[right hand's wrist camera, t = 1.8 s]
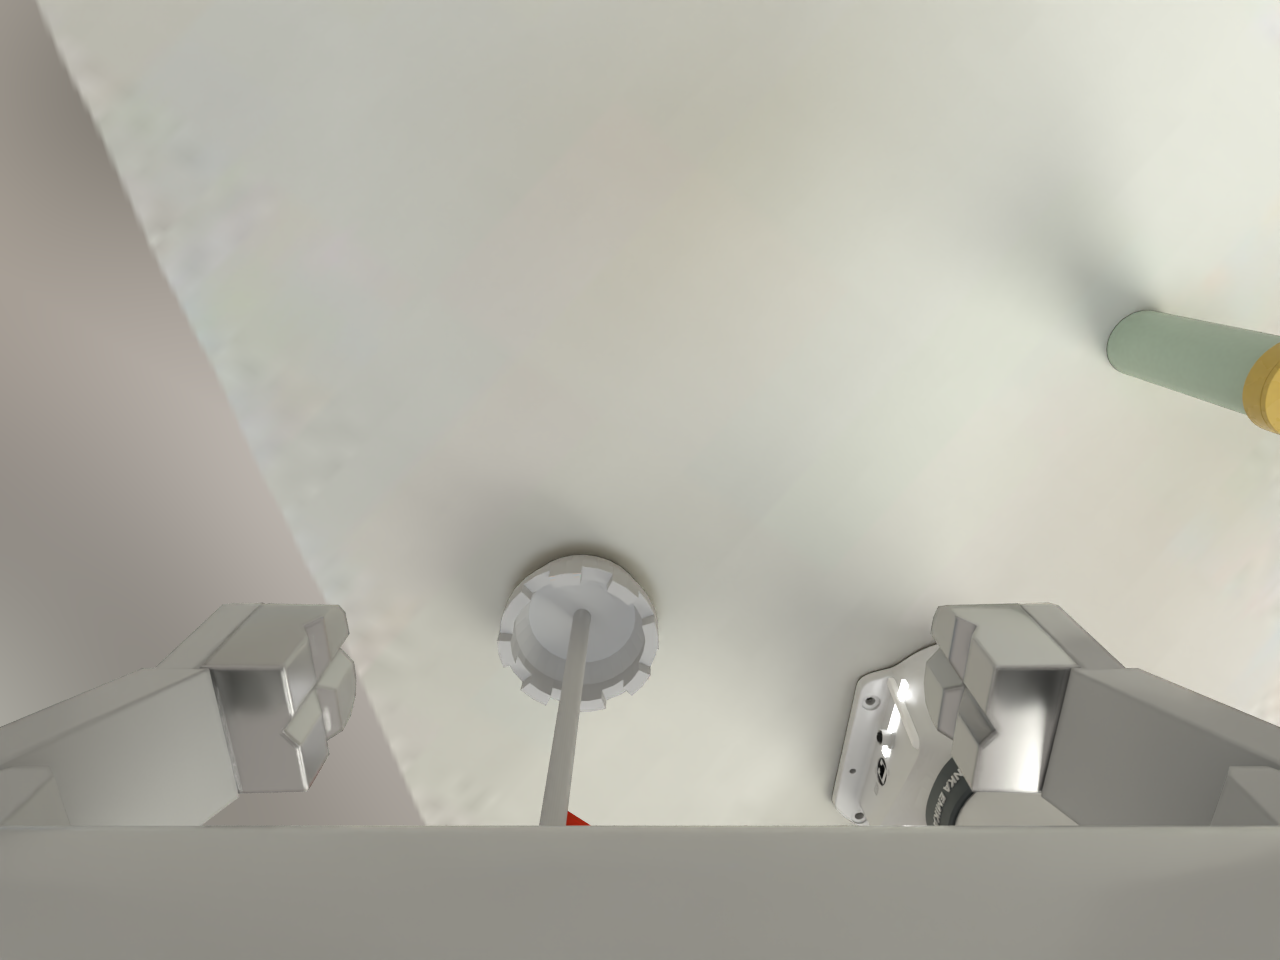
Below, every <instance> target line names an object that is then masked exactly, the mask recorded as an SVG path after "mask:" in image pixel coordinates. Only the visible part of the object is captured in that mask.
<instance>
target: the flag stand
mask: <svg viewBox="0 0 1280 960" xmlns="http://www.w3.org/2000/svg"><path fill="white" fill-rule="evenodd" d="M497 644H498V652H499V656H500V659H501V662H502V665H503V667H507V666H510V667H511V669H512V670H513V672H514V673H515V674H516V675H517V676H518V677H519V678H520V679H521V681H522V687H521V691H523V692H524V693H525V694H527V695H528V696H529V697H531V698H532V699H534V700H536V701H538V702H540V703H542V704H544V705H546V704H547V703H548V701H549V699H550V698H552V699H555V700H559V708H558V714H557V720H556V726H555V732H554V738H553V744H552V750H551V756H550V763H549V769H548V775H547V781H546V787H545V793H544V799H543V805H542V811H541V817H540V824H539V826H591V825H589V824H588V823H586V822H584V821H583V820H581V819H580V818H578V817H576V816H575V815H573V814H572V813H570V812H569V811H568V804H569V796H570V787H571V779H572V771H573V762H574V754H575V746H576V737H577V729H578V721H579V712H591V711H596V710H601V709H606V700H608V699H610V698H613V697H615V696H618V695H620V694H622V693H624V692H625V691H627V692H628V693H629V694H630V695H633V694H634V693H635V692H637V691H638V690H639V689H640V688H641V687H642V686H643V685H644V683H645V682H646V681H647V679H648V678H649V676H650V667H651V664H652V662H653V660H654V657H655V655H656V651H657V649H659V645H658V621H657V617H656V613H655V609H654V606H653V604H652V603H651V601H650V599H649V597H648V595H647V594H646V592H645V591H644V590H643V589H642V587H641V586H640V585H639V584H638V583H637V582H636V581H635V580H634V579H633V578H632V576H631V575H630V574H629V573H628V572H626V571H625V570H624V569H623V568H622V567H620V566H619V565H617V564H615V563H613V562H611V561H609V560H606V559H603V558H600V557H597V556H590V555H571V556H566V557H562V558H559V559H556V560H554V561H552V562H549V563H548V564H546V565H545V566H543V567H542V568H540V569H538V570H536V571H535V572H533V573H532V574H530V575H529V576H527V577H526V578H525V579H524V580H523V581H522V582H521V583H520V584H519V585H518V586H517V587H516V588H515V590H514V591H513V593H512V594H511V596H510V598H509V599H508V602H507V604H506V607H505V610H504V613H503V616H502V619H501V626H500V634H499V637H498V640H497Z"/></svg>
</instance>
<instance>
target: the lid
mask: <svg viewBox="0 0 1280 960" xmlns="http://www.w3.org/2000/svg"><path fill="white" fill-rule="evenodd" d="M1242 401H1243V407H1244V410H1245V412H1246V414H1247V416H1248V417H1249V419H1250V420H1251V421H1252V422H1253V423H1254V424H1255V425H1257V426H1258V427H1260V428H1262V429H1265V430H1267V431H1270V432H1273V433H1276V434H1279V435H1280V342H1279V343H1277V344H1276V345H1274V346H1273V347H1271V348H1270V349H1269V350H1267V351H1266V352H1265V353H1264V354H1263V355H1262V356H1261V357H1260V358H1259V359H1258V360H1257V361H1256V362H1255V364H1254V365H1253V367H1252V368H1251V370H1250V372H1249V373H1248V375H1247V378H1246V380H1245V383H1244V387H1243V393H1242Z"/></svg>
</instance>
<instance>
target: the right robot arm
mask: <svg viewBox="0 0 1280 960" xmlns="http://www.w3.org/2000/svg"><path fill="white" fill-rule="evenodd" d="M348 635H349V629H348V624H347V619H346V613H345V611H344V610H343V609H342V608H341V607H340V606H339V605H321V604H265V603H233V604H225V605H222V606H221V607H220V608H219V609H217V610H216V611H215V612H214V613H213V614H212V615H211V616H210V617H209V618H208V619H207V620H206V621H205V622H203V623H202V624H201V625H200V626H199V627H198V628H197V629H196V630H195V631H194V632H193V633H192V634H191V635H189V636H188V637H187V638H186V639H185V640H184V641H183V642H182V643H181V644H180V645H179V646H178V647H177V648H176V649H174V650H173V651H172V652H171V653H170V654H169V655H168V656H167V657H166V658H165V659H164V660H163V661H162V662H160V663H159V664H158V665H157V666H156V667H155V668H142V669H139V670H137V671H134V672H132V673H130V674H127V675H125V676H122V677H120V678H117V679H115V680H113V681H110V682H108V683H105V684H103V685H101V686H98V687H96V688H93V689H91V690H88V691H86V692H84V693H81V694H79V695H76V696H74V697H72V698H69V699H67V700H65V701H62V702H60V703H57V704H55V705H52V706H50V707H47V708H45V709H43V710H40V711H38V712H35V713H33V714H31V715H28V716H26V717H23V718H21V719H19V720H16V721H14V722H11V723H9V724H6V725H4V726H2V727H0V960H1280V727H1278V726H1276V725H1273V724H1271V723H1268V722H1266V721H1264V720H1261V719H1259V718H1256V717H1254V716H1252V715H1249V714H1247V713H1244V712H1242V711H1240V710H1237V709H1235V708H1232V707H1230V706H1227V705H1225V704H1223V703H1220V702H1218V701H1215V700H1213V699H1211V698H1208V697H1206V696H1203V695H1201V694H1199V693H1196V692H1194V691H1191V690H1189V689H1187V688H1184V687H1182V686H1179V685H1177V684H1175V683H1172V682H1170V681H1167V680H1165V679H1163V678H1160V677H1158V676H1155V675H1153V674H1151V673H1148V672H1146V671H1143V670H1141V669H1138V668H1125V667H1124V666H1123V665H1122V664H1121V663H1120V662H1119V661H1117V660H1116V659H1115V658H1114V657H1113V656H1112V655H1111V654H1110V653H1109V652H1108V651H1107V650H1106V649H1105V648H1104V647H1102V646H1101V645H1100V644H1099V643H1098V642H1097V641H1096V640H1095V639H1094V638H1093V637H1092V636H1091V635H1090V634H1089V633H1087V632H1086V631H1085V630H1084V629H1083V628H1082V627H1081V626H1080V625H1079V624H1078V623H1077V622H1076V621H1075V620H1074V619H1072V618H1071V617H1070V616H1069V615H1068V614H1067V613H1066V612H1065V611H1064V610H1063V609H1062V608H1061V607H1060V606H1058V605H1055V604H1052V603H1026V604H1018V603H1017V604H976V605H945V606H938V608H937V610H936V613H935V615H934V617H933V622H932V628H931V635H932V637H933V638H934V640H935V641H936V643H937V644H938V646H939V647H940V648H939V649H938V650H937V651H936V652H935V653H934V654H933V655H932V656H931V657H930V658H929V659H928V660H927V661H926V667H925V675H924V692H925V703H926V706H927V709H928V712H929V716H930V718H931V720H932V722H933V724H934V726H935V727H936V729H937V731H938V732H940V733H942V734H943V735H945V736H946V737H948V738H950V739H951V740H953V743H952V749H951V756H952V757H953V759H954V761H955V763H956V764H957V766H958V768H959V769H960V771H961V773H962V775H963V776H964V778H965V780H966V781H967V783H968V785H969V787H970V788H971V790H972V792H1007V793H1041V797H1042V798H1044V799H1045V800H1046V801H1048V802H1049V803H1050V804H1052V805H1053V806H1054V807H1055V808H1057V809H1058V810H1059V811H1061V812H1062V813H1063V814H1065V815H1066V816H1067V817H1069V818H1070V819H1071V820H1073V821H1074V822H1075V823H1077V824H1078V825H1079V826H201V825H202V824H204V823H205V822H206V821H208V820H209V819H210V818H212V817H213V816H214V815H216V814H217V813H218V812H219V811H221V810H222V809H223V808H225V807H226V806H227V805H229V804H230V803H231V802H233V801H234V800H235V799H237V798H238V797H239V794H238V793H271V792H307V791H308V790H309V788H310V787H311V785H312V783H313V781H314V780H315V778H316V776H317V775H318V773H319V771H320V769H321V768H322V766H323V764H324V763H325V761H326V759H327V757H328V756H329V749H328V743H327V740H329V739H330V738H332V737H334V736H335V735H337V734H338V733H340V732H341V731H343V729H344V727H345V726H346V724H347V722H348V720H349V718H350V716H351V713H352V709H353V704H354V700H355V696H356V673H355V666H354V661H353V660H352V659H351V658H350V657H349V656H348V655H347V654H346V653H345V652H344V651H343V650H342V649H341V648H340V647H341V646H342V644H343V643H344V641H345V640H346V638H347V637H348Z"/></svg>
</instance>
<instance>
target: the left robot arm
mask: <svg viewBox="0 0 1280 960" xmlns="http://www.w3.org/2000/svg"><path fill="white" fill-rule="evenodd" d="M939 648H940V647H939V646H938V644H936V645H933V646H930V647H928V648H925V649H923V650H921V651H919V652H917V653H915V654H913V655H912V656H910V657H908V658H907V659H905V660H904V661H902V662H901V663H899V664H898V665H896V666H894V667H892V668H888V669H884V670H880V671H876V672H873V673H870V674H867V675H865V676H863V677H862V678H861V679H860V680H859V681H858V683H857V686H856V690H855V695H854V699H853V704H852V708H851V713H850V718H849V722H848V727H847V731H846V736H845V740H844V745H843V749H842V754H841V758H840V763H839V768H838V772H837V777H836V781H835V786H834V791H833V795H832V802H833V804H834V806H835V808H836V809H837V810H838V812H839V813H840V814H842V815H843V816H844V817H845V818H846V819H848V820H849V821H851V822H852V823H854V824H856V825H858V826H1079V825H1078V824H1077V823H1075V822H1074V821H1073V820H1071V819H1070V818H1069V817H1067V816H1066V815H1065V814H1063V813H1062V812H1061V811H1059V810H1058V809H1057V808H1055V807H1054V806H1053V805H1052V804H1050V803H1049V802H1048V801H1046V800H1045V799H1044V798H1042V797H1041V793H1007V792H972V790H971V788H970V787H969V785H968V783H967V781H966V780H965V778H964V776H963V775H962V773H961V771H960V769H959V768H958V766H957V764H956V763H955V761H954V759H953V757H952V756H951V749H952V743H953V740H951V739H950V738H948V737H946V736H945V735H943V734H942V733H940V732H938V731H937V729H936V727H935V726H934V724H933V722H932V720H931V718H930V716H929V712H928V709H927V706H926V703H925V692H924V675H925V667H926V661H927V660H928V659H929V658H930V657H931V656H932V655H933V654H934V653H935V652H936V651H937V650H938V649H939ZM869 697H872V699H870V700H866V699H867V698H869ZM859 812H860V813H859ZM856 813H858V814H856Z"/></svg>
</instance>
